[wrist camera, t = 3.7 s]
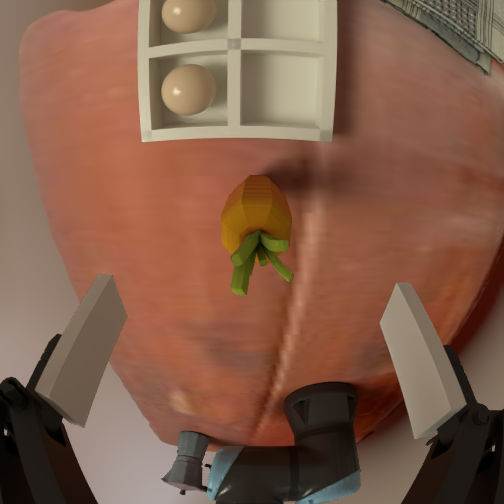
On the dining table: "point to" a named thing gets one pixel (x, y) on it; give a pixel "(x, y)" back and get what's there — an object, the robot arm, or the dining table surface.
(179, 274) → the dining table surface
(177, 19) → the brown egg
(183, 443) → the moka pot
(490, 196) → the dining table surface
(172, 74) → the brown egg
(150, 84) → the carton
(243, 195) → the carrot
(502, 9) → the dish towel
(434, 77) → the dining table surface
